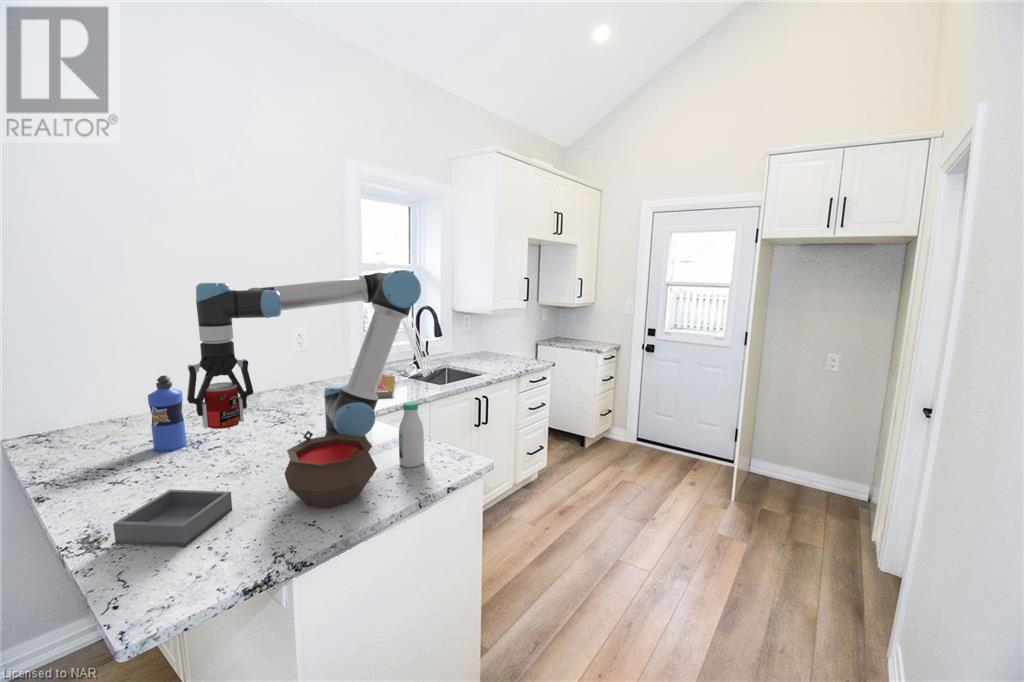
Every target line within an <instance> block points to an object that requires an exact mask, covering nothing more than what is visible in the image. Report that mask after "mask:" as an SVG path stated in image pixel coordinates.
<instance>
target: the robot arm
mask: <svg viewBox="0 0 1024 682" xmlns="http://www.w3.org/2000/svg"><path fill="white" fill-rule="evenodd" d="M421 294H422V286H421V283H420V280H419V278H418V277H417V276H416V275H415V274H414V273H413V272H412V271H410V270H407V269H405V268H400V267H399V268H397V267H395V268H385V269H382V270H378V271H374V272H369V273H361V274H359V276H358V277H354V278H352V277H351V278H350V277H349V278H343V279H332V280H325V281H323V280H322V281H315V282H314V281H313V282H305V283H295V284H285V285H277V286H266V287H265V286H264V287H252V288H251V287H250V288H249V289H247V290H237V289H236V290H234V289H231V287H230V285H229V283H228V282H227V283H226V282H200V283H198V284H197V285H196V286H195V299H196V300H195V303H196V311H197V312H196V313H197V321H198V323H197V324H198V333H199V340H200V341H201V343H200V344H199V346H200V356H201V357H200V361H199V362H198V363H196V364H195V363H194V364H188V365H187V370H188V373H189V378H188V387H187V397H186V400H187V402H188V403H189V404H193V405H194V404H195V407H196V408H195V409H196V414H197V415H198V417H201V420H202V426H203V428H204V429H208V428H209V427H208V421H207V410H206V404H205V399H204V398H205V395H206V388H209V385H210V384H212V383H211V382H212V381H213V378H215V377H219V376H227V377H228V378H229V380H230V382H232V383H233V384H234V385H236V384H237V389H238V399H239V414H240V421H239V423H242V422H245V420H244V419H245V418H244V410H245V409H247V408H248V403H247V398H248V396H251V395H253V394H254V389H253V385H252V381H251V377H250V374H249V373H250V372H249V369H248V367H249V360H247V359H244V358H243V359H237V358H236V356H235V344H234V343H235V342H234V341H233V340H234V331H233V319H245V318H246V319H252V318H255V319H258V318H260V319H261V318H264V319H265V318H266V319H269V318H278V317H280V316H281V315H282V311H289V310H296V309H303V308H304V309H305V308H313V307H321V306H322V307H323V306H330V305H336V304H337V305H338V304H344V303H345V304H347V303H351V302H352V303H353V302H363V303H365V304H368V303H369V304H371V305H372V308H373V310H374V311H373V314H372V317H371V319H370V323H369V325H368V328H367V331H366V334H365V336H364V339H363V342H362V345H361V347H360V349H359V353H358V355H357V358H356V361H355V364H354V367H353V370H352V372H351V374H350V378H349V380H348V383H347V384H337V385H330V386H327V387H326V388H325V389H324V394H323V399H324V410H325V411H324V413H325V415H324V416H325V417H324V418H325V435H324V436H330V435H336V434H343V435H352V436H362V437H365V438H366V439H367V440H368V438H367V434H368V433H369V432H371V430H372V429H373V428H374V425H375V423H376V413H375V409H376V406H377V404H378V400H379V398H378V396H377V394H376V392H377V391H376V389H377V386H378V384H379V381H380V378H381V375H383V372H384V369H385V367H386V364H387V361H388V358H389V355H390V353H391V350H392V347H393V344H394V342H395V339H396V335H397V333H398V330H399V327H400V325H401V323H402V321H403V320H404V319H406V318H408V317H409V314H410V311H411V308H412V307H413V306H414V305H415V304H416V303H417V302H418V300H419V299H420V298H421ZM236 365H238V367H239V368H240V371H241V374H242V379H243V382H244V387H245V390H244V389H243V387H242V386H241V383H240V382H239V380H238V379H237V377H236V374H235V373H234V372H233V369H234V368H235V367H236ZM200 369H203V370H204V371H205V375H204V378H203V380H202V383H201V386H200V388H199V391H198V394H197V396H196V395H195V394H196V386H197V385H196V384H197V375H198V374H197V373H199V372H200Z"/></svg>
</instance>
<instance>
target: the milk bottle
mask: <svg viewBox="0 0 1024 682" xmlns="http://www.w3.org/2000/svg"><path fill="white" fill-rule="evenodd" d="M402 408H403V412H404V413H403V416H402V419H401V420H400V424H399V428H398V447H399V448H398V452H399V453H398V455H399V456H398V457H399V464H400V466H402V467H403V468H410V469H411V468H418V467H421V466H423V464H424V461H425V442H424V441H425V440H424V437H425V436H424V435H425V434H424V426H423V422H422V420H421V418H420V416H419V414H418V410H419V402H417V401H407V402H404V403H403V407H402Z"/></svg>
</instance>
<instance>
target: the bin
mask: <svg viewBox="0 0 1024 682" xmlns="http://www.w3.org/2000/svg"><path fill="white" fill-rule="evenodd" d="M232 501H233V500H232V492H231V491H221V490H219V491H218V490H192V489H191V490H189V489H169V490H166V491H165V492H164V493H162V494H161V495H159V496H157V497H155V498H153V499H151V500H150V501H149V502H147V503H145V504H143V505H142V506H140V507H139V508H136V509H135V510H134V511H131V512H130V513H129V514H126V515H125V516H123V517H122V518H120V519H119V520H117V521H115V522H114V523H113V524H112V525H113V532H114V533H113V534H114V540H115V545H118V544H129V545H128V546H143V545H157V546H156V547H167V546H177V547H176V548H186V547H188V546H189V545H190V544H191V543H192V541H193V540H194V539H195V540H196V539H197V537H198V536H199V537H200V536H202V535H203V534H204V533H206V532H207V530H209V529H210V528H211V527H213V526H214V525H215V524H217V523H218V522H219V521H221V520H222V519H223V518H224V517H226V516H227V515H228V514H229V513H231V512H232V511H233V502H232ZM230 511H231V512H230ZM202 533H203V534H202ZM199 537H198V538H199ZM195 540H194V541H195ZM194 541H193V542H194ZM190 542H191V543H190ZM189 543H190V544H189ZM130 544H131V545H130ZM188 544H189V545H188ZM158 545H159V546H158ZM187 545H188V546H187ZM178 546H180V547H178Z"/></svg>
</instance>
